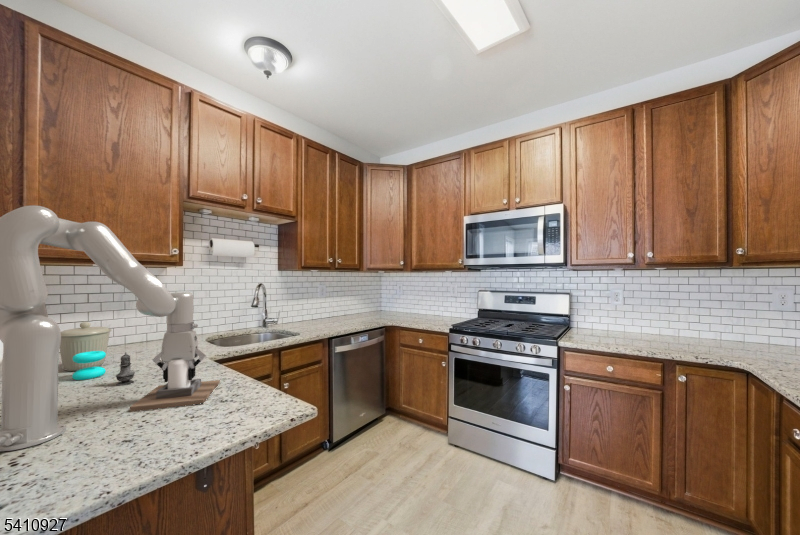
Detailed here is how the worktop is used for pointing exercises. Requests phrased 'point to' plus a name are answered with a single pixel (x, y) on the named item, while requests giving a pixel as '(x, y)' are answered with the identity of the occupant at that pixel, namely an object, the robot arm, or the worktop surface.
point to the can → (178, 374)
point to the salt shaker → (125, 371)
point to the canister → (83, 345)
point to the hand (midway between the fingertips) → (179, 379)
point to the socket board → (176, 395)
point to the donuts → (90, 371)
